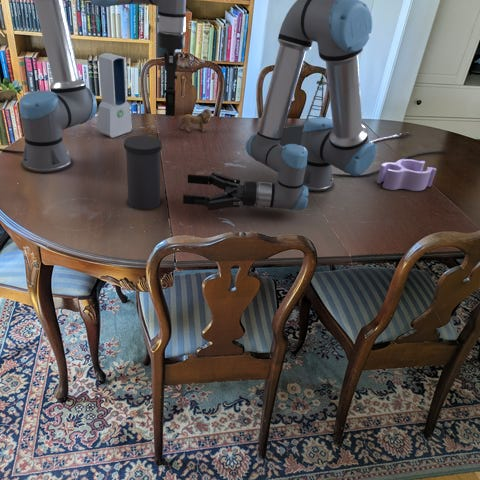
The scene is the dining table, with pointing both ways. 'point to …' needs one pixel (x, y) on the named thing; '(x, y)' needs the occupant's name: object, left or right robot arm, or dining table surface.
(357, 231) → the dining table surface
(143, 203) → the jar
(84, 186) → the dining table surface
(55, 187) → the dining table surface
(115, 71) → the electronic device
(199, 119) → the lion figurine
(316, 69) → the miniature windmill
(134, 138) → the lid
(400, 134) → the sword
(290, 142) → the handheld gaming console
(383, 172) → the clip
